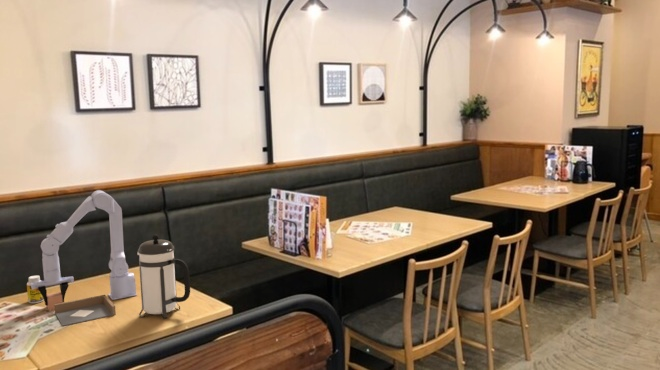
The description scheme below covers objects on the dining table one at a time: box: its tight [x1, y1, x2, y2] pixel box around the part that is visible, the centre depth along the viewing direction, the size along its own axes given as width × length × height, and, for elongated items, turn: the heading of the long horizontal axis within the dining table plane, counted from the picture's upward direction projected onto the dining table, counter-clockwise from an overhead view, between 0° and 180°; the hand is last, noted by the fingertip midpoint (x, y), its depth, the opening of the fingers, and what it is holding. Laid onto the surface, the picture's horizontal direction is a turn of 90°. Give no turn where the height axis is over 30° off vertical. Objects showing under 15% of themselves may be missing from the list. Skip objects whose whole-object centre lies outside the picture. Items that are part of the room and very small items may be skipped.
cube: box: [46, 291, 64, 311], centre depth 210 cm, size 5×5×5 cm
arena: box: [54, 294, 117, 327], centre depth 202 cm, size 18×16×3 cm
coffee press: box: [137, 233, 191, 320], centre depth 201 cm, size 17×16×30 cm
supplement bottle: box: [26, 275, 44, 304], centre depth 216 cm, size 6×6×10 cm
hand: (54, 303), depth 210 cm, fingers closed on cube, 5 cm apart
